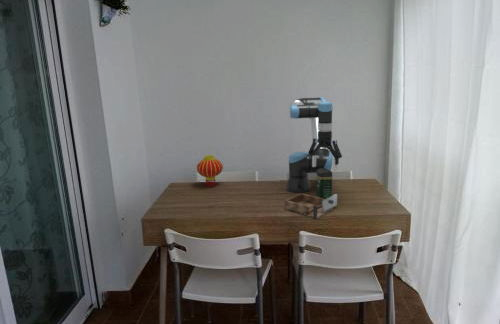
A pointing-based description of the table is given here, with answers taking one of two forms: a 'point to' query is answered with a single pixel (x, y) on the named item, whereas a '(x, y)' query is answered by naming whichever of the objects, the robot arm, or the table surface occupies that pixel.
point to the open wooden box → (306, 205)
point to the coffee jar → (324, 183)
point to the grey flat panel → (329, 202)
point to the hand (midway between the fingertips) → (324, 168)
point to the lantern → (209, 168)
